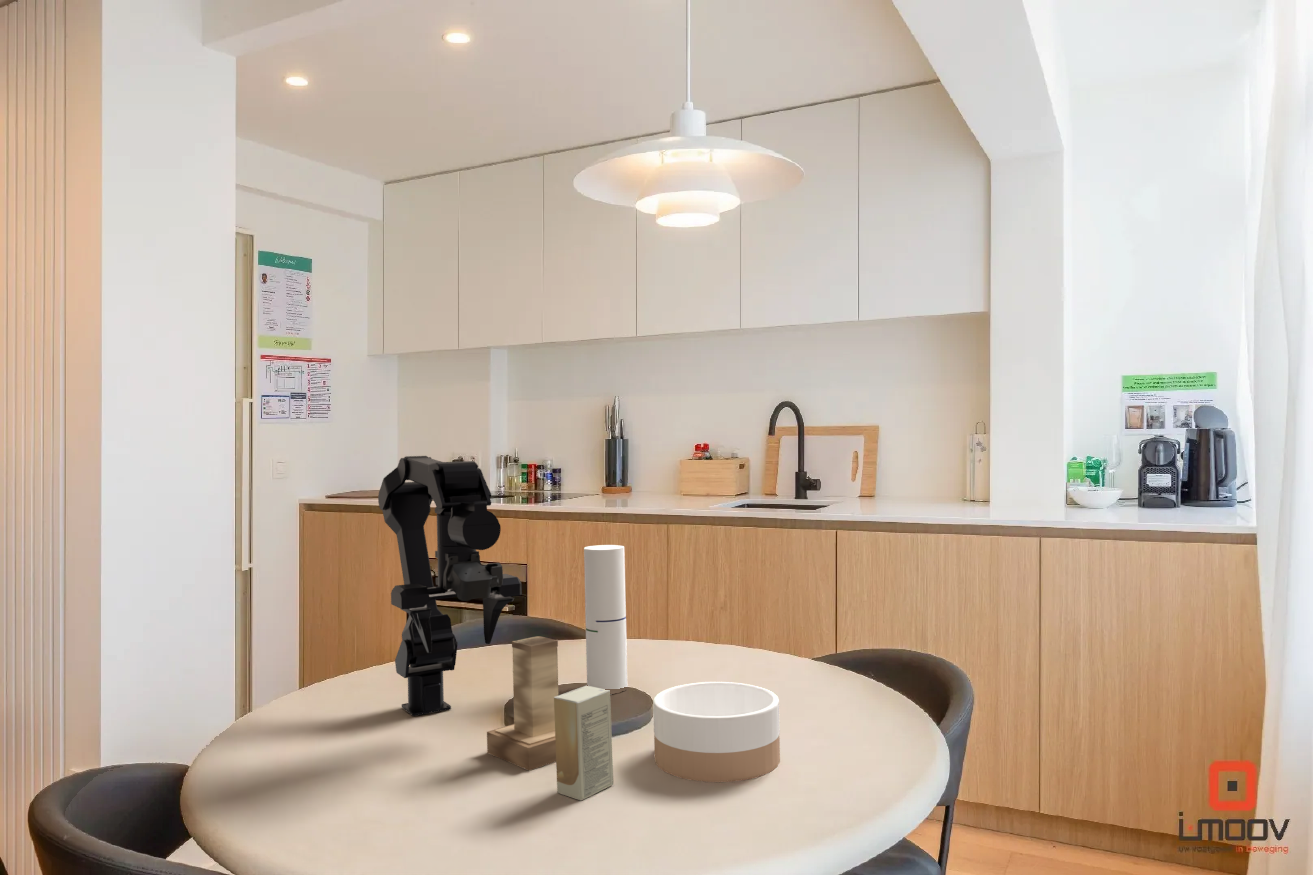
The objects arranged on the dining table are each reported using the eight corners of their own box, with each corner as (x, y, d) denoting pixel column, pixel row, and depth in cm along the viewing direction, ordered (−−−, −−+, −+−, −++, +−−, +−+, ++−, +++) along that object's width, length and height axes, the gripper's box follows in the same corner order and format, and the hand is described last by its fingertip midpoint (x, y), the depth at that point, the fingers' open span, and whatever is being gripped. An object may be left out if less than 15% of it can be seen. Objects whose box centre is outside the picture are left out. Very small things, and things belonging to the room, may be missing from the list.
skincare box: (589, 777, 116) (587, 683, 116) (614, 785, 113) (612, 689, 113) (554, 793, 111) (551, 695, 111) (579, 802, 108) (577, 701, 108)
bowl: (637, 748, 127) (635, 689, 127) (745, 731, 133) (744, 675, 133) (683, 791, 111) (681, 724, 111) (804, 770, 117) (802, 707, 117)
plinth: (487, 752, 126) (486, 730, 126) (544, 735, 133) (543, 714, 133) (529, 770, 119) (528, 746, 119) (587, 751, 126) (586, 728, 126)
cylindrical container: (622, 695, 153) (618, 549, 154) (582, 693, 155) (578, 549, 155) (631, 684, 160) (628, 544, 161) (593, 682, 162) (590, 544, 162)
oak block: (513, 729, 126) (511, 641, 126) (540, 722, 129) (538, 635, 129) (533, 737, 123) (531, 646, 123) (559, 729, 126) (557, 640, 126)
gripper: (412, 554, 123) (414, 668, 123) (536, 543, 133) (538, 648, 133) (388, 547, 132) (391, 653, 132) (506, 538, 142) (508, 636, 142)
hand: (459, 647), depth 135 cm, fingers open, 9 cm apart
